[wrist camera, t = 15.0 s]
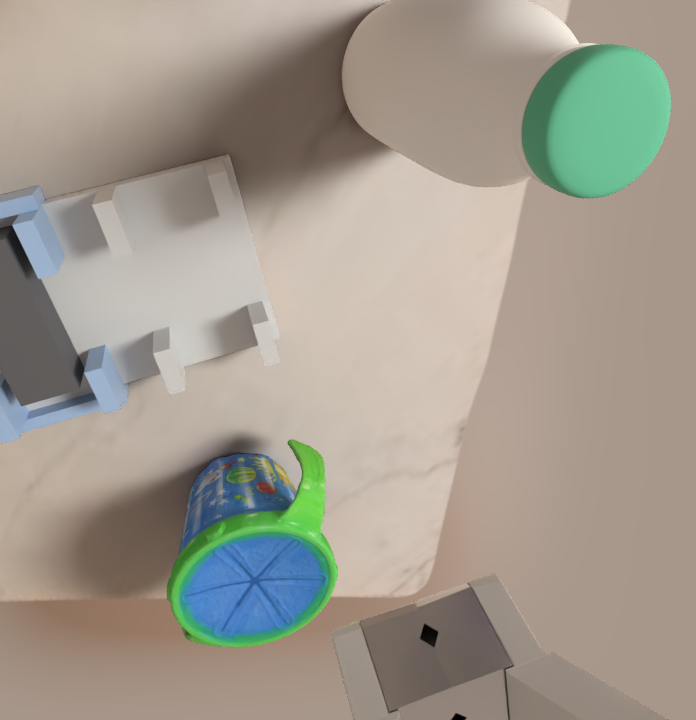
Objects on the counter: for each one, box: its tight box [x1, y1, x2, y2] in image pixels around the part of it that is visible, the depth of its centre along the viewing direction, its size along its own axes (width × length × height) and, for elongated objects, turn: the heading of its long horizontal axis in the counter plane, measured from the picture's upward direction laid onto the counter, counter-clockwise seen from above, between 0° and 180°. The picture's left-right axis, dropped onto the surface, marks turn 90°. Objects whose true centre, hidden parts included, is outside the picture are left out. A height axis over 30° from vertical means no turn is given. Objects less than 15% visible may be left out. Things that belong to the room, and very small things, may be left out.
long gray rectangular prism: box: [0, 225, 85, 407], centre depth 35 cm, size 10×3×3 cm, turn 10°
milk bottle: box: [342, 0, 671, 198], centre depth 28 cm, size 8×8×20 cm
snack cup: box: [167, 440, 338, 647], centre depth 43 cm, size 16×10×10 cm
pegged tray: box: [0, 154, 281, 444], centre depth 36 cm, size 14×18×4 cm
